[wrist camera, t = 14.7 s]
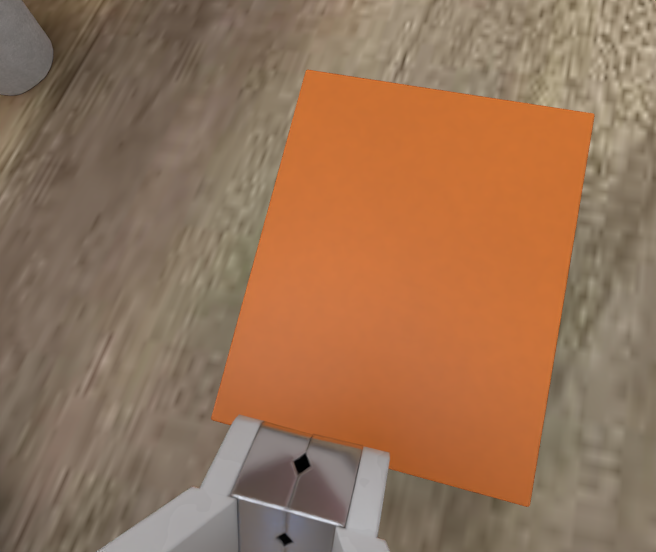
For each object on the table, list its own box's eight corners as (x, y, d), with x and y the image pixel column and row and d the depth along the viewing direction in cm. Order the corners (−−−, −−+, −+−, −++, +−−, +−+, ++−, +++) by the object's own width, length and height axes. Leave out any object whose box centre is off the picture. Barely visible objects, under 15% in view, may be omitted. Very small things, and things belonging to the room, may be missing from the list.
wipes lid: (308, 78, 23) (305, 68, 22) (587, 122, 21) (595, 112, 20) (216, 418, 21) (209, 419, 20) (524, 502, 19) (529, 508, 18)
